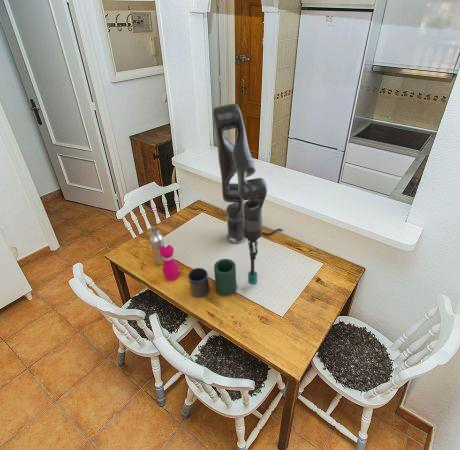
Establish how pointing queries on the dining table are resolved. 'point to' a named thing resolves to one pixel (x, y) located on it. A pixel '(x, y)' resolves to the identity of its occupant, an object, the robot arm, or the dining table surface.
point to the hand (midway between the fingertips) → (252, 257)
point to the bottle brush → (252, 274)
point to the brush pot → (198, 282)
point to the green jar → (225, 277)
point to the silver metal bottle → (156, 245)
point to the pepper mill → (169, 262)
